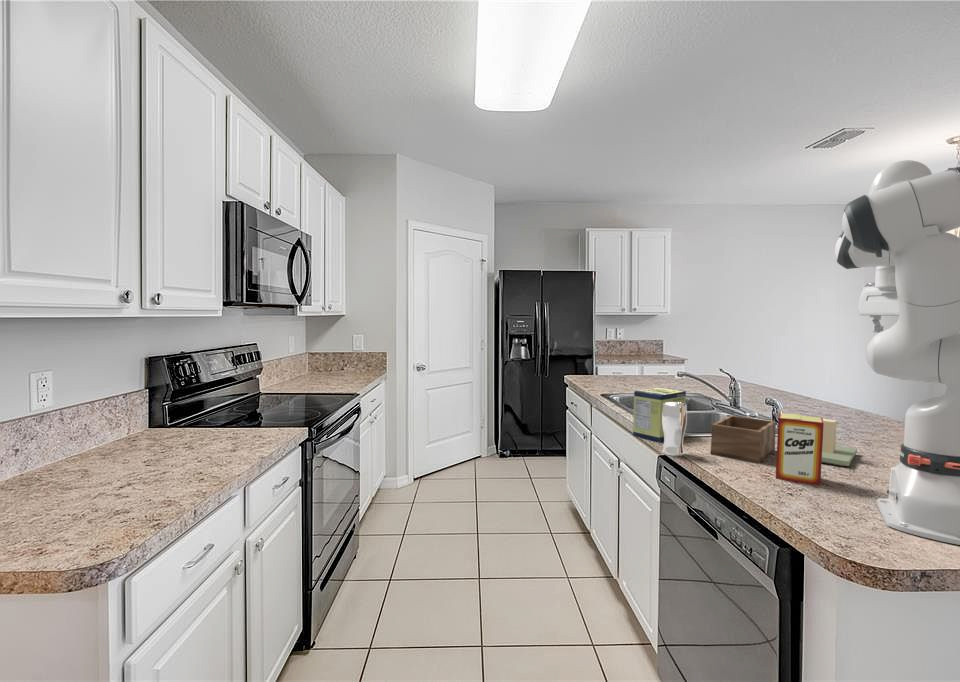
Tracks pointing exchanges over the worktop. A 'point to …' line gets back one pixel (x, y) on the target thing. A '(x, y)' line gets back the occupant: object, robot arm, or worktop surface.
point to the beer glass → (674, 427)
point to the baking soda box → (799, 448)
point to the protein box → (652, 411)
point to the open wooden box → (743, 438)
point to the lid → (834, 446)
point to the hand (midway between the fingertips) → (893, 333)
